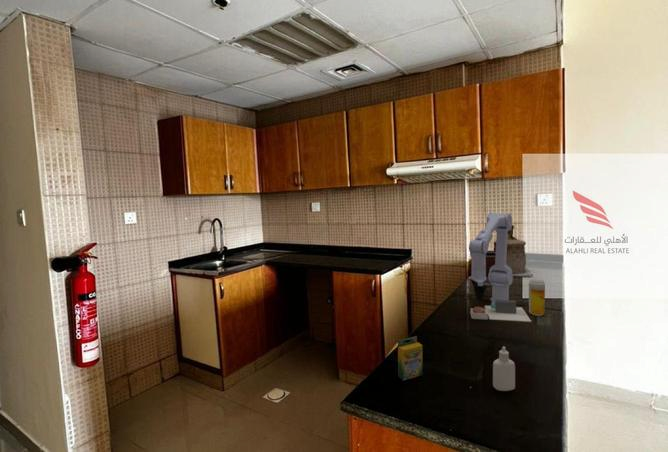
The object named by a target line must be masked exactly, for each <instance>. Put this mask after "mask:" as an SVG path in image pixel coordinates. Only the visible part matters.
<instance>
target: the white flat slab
mask: <svg viewBox="0 0 668 452" xmlns="http://www.w3.org/2000/svg"><path fill="white" fill-rule="evenodd" d="M484 309H486V311H487V314H488V320H491V321H494V320H495V321H508V322H509V321H510V322H525V323H531V322H532V320H531V319H530V317H529V316H528V314H527V313H526V311H525V310H524V308H523V307H522V306H521V307H520V306H516V314H512V313H496V310H495V309H491V305H484Z"/></svg>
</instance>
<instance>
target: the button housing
mask: <svg viewBox="0 0 668 452" xmlns="http://www.w3.org/2000/svg"><path fill="white" fill-rule="evenodd" d="M483 311H484V313H474V308H473V307H471V308H470V317H471V319H473V320H489V317H488V314H487V311H486V309H485V308H483Z"/></svg>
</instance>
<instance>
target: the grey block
mask: <svg viewBox="0 0 668 452" xmlns="http://www.w3.org/2000/svg"><path fill="white" fill-rule="evenodd" d="M490 306H491V309H495V310H496V313H512V314H516V307H517V302H516V300H515V299H509V300H496V299H495V303H492V302H491V303H490Z"/></svg>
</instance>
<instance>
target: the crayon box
mask: <svg viewBox="0 0 668 452" xmlns="http://www.w3.org/2000/svg"><path fill="white" fill-rule="evenodd" d="M406 341H408V342H406ZM397 365H398V366H397V372H398V374H397V375H398V378H400V379H401V381H407V380H411V379H414V378H418V377H421V376H423V374H424V372H423V368H424V367H423V344H421V343H420V342H418V336H417V335H416V336H411V337H407V338H403V339H400V340H399V339H398V340H397Z"/></svg>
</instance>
